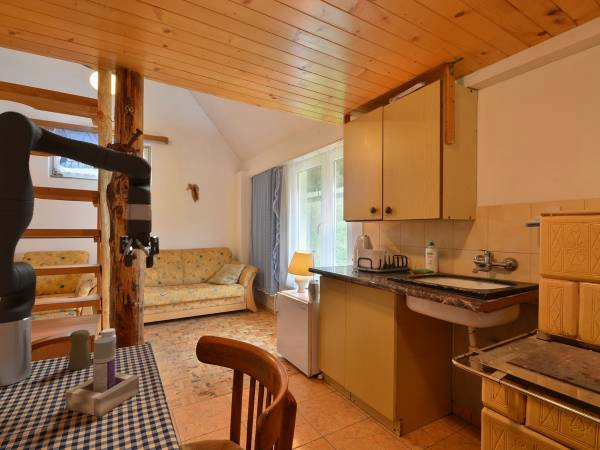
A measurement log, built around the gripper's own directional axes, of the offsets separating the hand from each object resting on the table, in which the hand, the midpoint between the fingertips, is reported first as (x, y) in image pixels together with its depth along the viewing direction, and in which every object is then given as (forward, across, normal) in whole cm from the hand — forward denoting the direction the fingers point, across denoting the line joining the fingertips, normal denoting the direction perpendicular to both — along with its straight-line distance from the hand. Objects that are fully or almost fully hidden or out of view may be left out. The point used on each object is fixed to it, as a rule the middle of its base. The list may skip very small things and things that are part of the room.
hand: (138, 267), depth 101 cm
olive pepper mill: (+30, -13, -10) cm, 34 cm away
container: (+30, +11, -22) cm, 39 cm away
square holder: (+30, +11, -22) cm, 39 cm away
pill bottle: (+30, -12, -1) cm, 33 cm away
